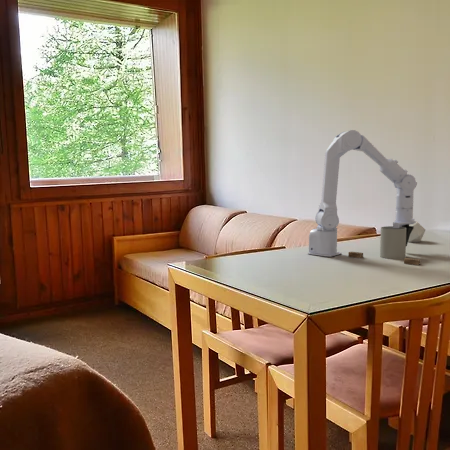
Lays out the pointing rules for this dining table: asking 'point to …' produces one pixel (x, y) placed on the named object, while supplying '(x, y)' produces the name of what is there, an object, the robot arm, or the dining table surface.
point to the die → (416, 233)
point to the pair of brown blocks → (406, 260)
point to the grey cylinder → (393, 242)
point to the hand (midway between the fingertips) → (403, 246)
